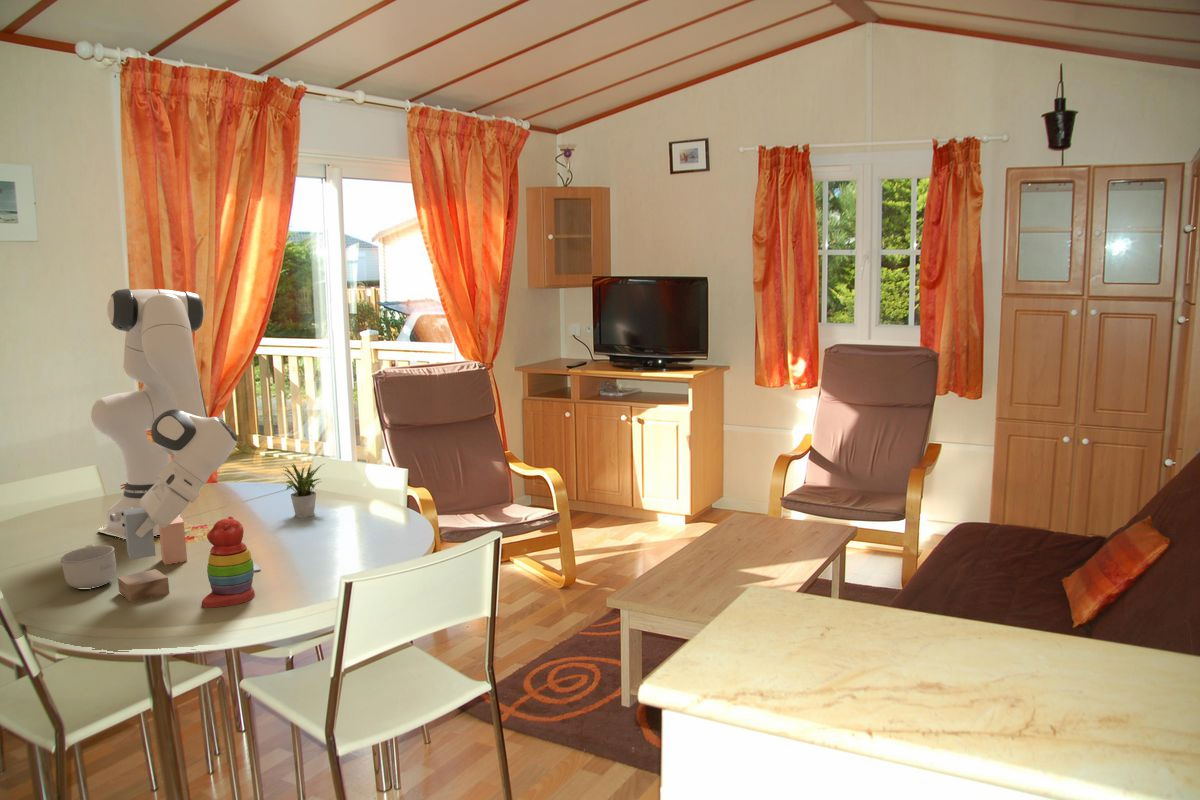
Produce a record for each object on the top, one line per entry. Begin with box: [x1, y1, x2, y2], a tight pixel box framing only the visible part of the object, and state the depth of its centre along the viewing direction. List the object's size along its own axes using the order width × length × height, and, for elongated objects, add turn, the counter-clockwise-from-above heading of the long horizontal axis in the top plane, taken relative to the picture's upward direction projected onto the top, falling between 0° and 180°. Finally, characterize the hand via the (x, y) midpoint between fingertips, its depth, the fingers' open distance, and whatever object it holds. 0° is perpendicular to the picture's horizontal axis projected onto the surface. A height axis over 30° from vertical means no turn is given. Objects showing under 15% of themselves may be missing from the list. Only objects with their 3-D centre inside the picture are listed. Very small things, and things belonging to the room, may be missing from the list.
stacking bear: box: [201, 515, 256, 608], centre depth 201 cm, size 11×10×18 cm
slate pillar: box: [123, 508, 156, 561], centre depth 205 cm, size 5×5×10 cm
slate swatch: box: [253, 562, 261, 573], centre depth 221 cm, size 6×6×1 cm
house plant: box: [280, 459, 326, 518], centre depth 268 cm, size 14×14×16 cm
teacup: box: [60, 544, 117, 589], centre depth 213 cm, size 14×11×8 cm
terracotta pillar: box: [159, 517, 188, 565], centre depth 229 cm, size 5×5×10 cm
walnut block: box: [117, 568, 170, 603], centre depth 206 cm, size 8×8×4 cm
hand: (135, 531), depth 204 cm, fingers closed on slate pillar, 5 cm apart
